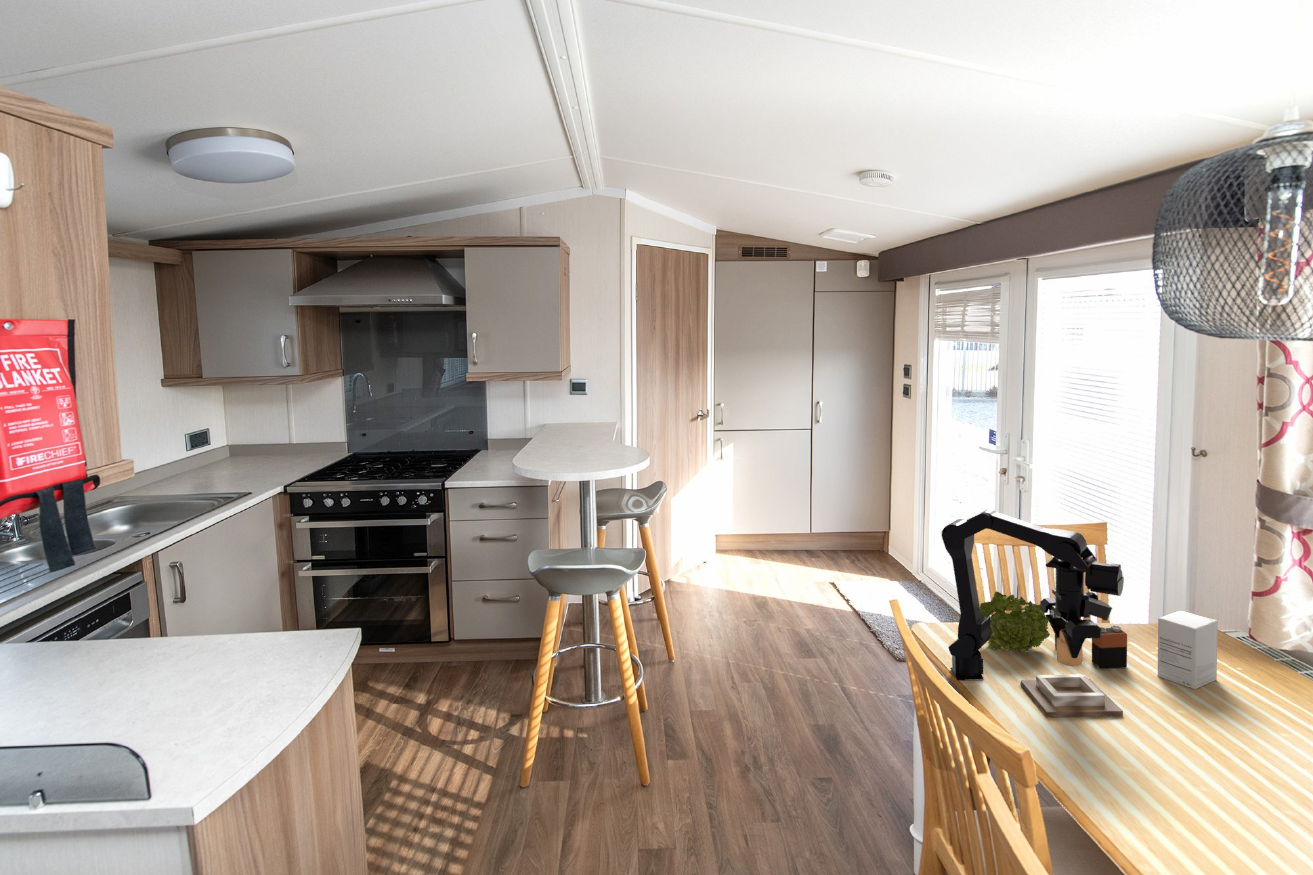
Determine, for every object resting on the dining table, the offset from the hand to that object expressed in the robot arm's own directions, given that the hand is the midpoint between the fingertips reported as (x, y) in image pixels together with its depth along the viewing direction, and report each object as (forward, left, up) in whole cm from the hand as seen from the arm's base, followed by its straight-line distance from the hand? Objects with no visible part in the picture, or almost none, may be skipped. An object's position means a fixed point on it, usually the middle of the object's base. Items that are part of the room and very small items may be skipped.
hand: (1069, 652), depth 177 cm
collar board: (0, 0, -11) cm, 11 cm away
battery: (+17, +18, -12) cm, 27 cm away
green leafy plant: (-3, +29, -12) cm, 31 cm away
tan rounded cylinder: (0, 0, -2) cm, 2 cm away
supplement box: (+31, +10, -12) cm, 35 cm away
